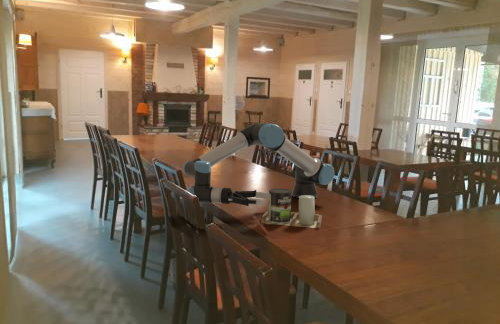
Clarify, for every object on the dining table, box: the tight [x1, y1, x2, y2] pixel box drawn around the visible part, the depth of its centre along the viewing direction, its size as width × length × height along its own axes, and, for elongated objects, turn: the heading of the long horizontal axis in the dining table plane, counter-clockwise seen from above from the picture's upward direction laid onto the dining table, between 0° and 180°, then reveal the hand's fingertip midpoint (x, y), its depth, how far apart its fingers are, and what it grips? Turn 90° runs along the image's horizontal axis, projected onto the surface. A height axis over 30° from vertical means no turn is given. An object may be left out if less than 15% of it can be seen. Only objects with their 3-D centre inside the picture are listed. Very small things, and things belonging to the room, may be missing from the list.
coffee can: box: [268, 188, 293, 225], centre depth 180 cm, size 10×10×14 cm
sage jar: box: [298, 195, 316, 225], centre depth 177 cm, size 7×7×12 cm
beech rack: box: [260, 209, 323, 229], centre depth 180 cm, size 26×13×4 cm, turn 76°
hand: (266, 198), depth 180 cm, fingers open, 13 cm apart
